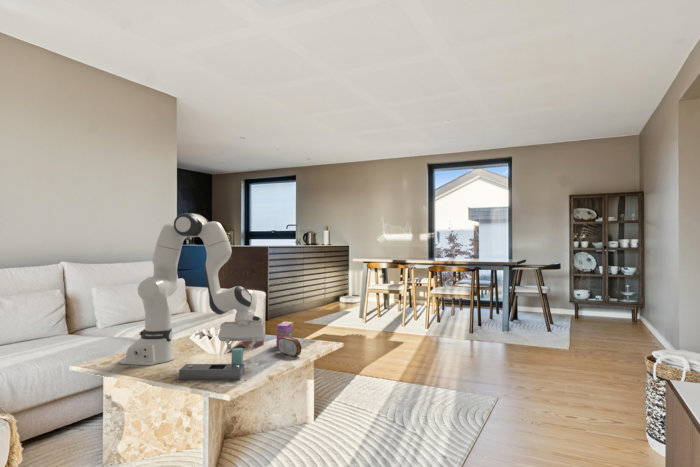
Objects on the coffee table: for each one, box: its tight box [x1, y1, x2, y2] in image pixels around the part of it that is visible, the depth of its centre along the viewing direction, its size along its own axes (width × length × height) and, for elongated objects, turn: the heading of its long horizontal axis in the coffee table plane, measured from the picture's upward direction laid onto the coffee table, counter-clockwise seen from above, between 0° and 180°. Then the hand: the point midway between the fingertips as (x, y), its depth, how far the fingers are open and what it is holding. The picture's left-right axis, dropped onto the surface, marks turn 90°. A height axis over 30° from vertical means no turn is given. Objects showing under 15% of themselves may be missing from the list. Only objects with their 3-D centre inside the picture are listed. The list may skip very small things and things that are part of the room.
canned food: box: [242, 320, 265, 348], centre depth 225 cm, size 11×11×12 cm
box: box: [275, 321, 294, 349], centre depth 224 cm, size 10×6×12 cm, turn 168°
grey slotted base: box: [178, 363, 245, 381], centre depth 172 cm, size 24×8×4 cm, turn 93°
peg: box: [230, 347, 244, 364], centre depth 181 cm, size 4×4×9 cm
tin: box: [278, 336, 302, 357], centre depth 206 cm, size 15×3×8 cm, turn 48°
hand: (239, 348), depth 185 cm, fingers open, 8 cm apart
